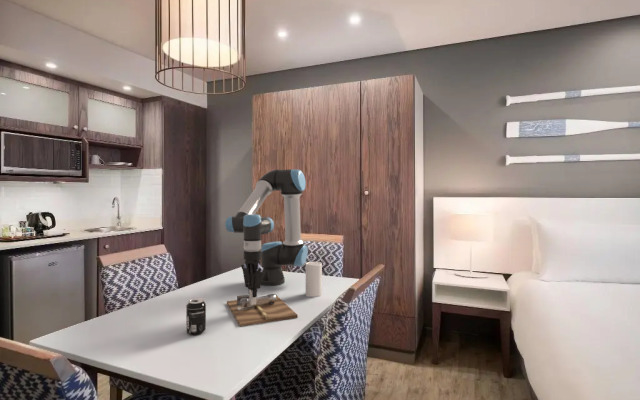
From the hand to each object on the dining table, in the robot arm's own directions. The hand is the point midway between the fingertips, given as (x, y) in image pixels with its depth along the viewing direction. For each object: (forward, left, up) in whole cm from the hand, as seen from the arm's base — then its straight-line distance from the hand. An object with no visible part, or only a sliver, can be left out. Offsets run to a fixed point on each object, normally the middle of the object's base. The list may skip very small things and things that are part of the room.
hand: (252, 304), depth 152 cm
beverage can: (+13, -24, -4) cm, 28 cm away
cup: (-13, +35, -4) cm, 37 cm away
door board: (-1, +4, -4) cm, 5 cm away
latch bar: (-3, +3, -1) cm, 5 cm away
